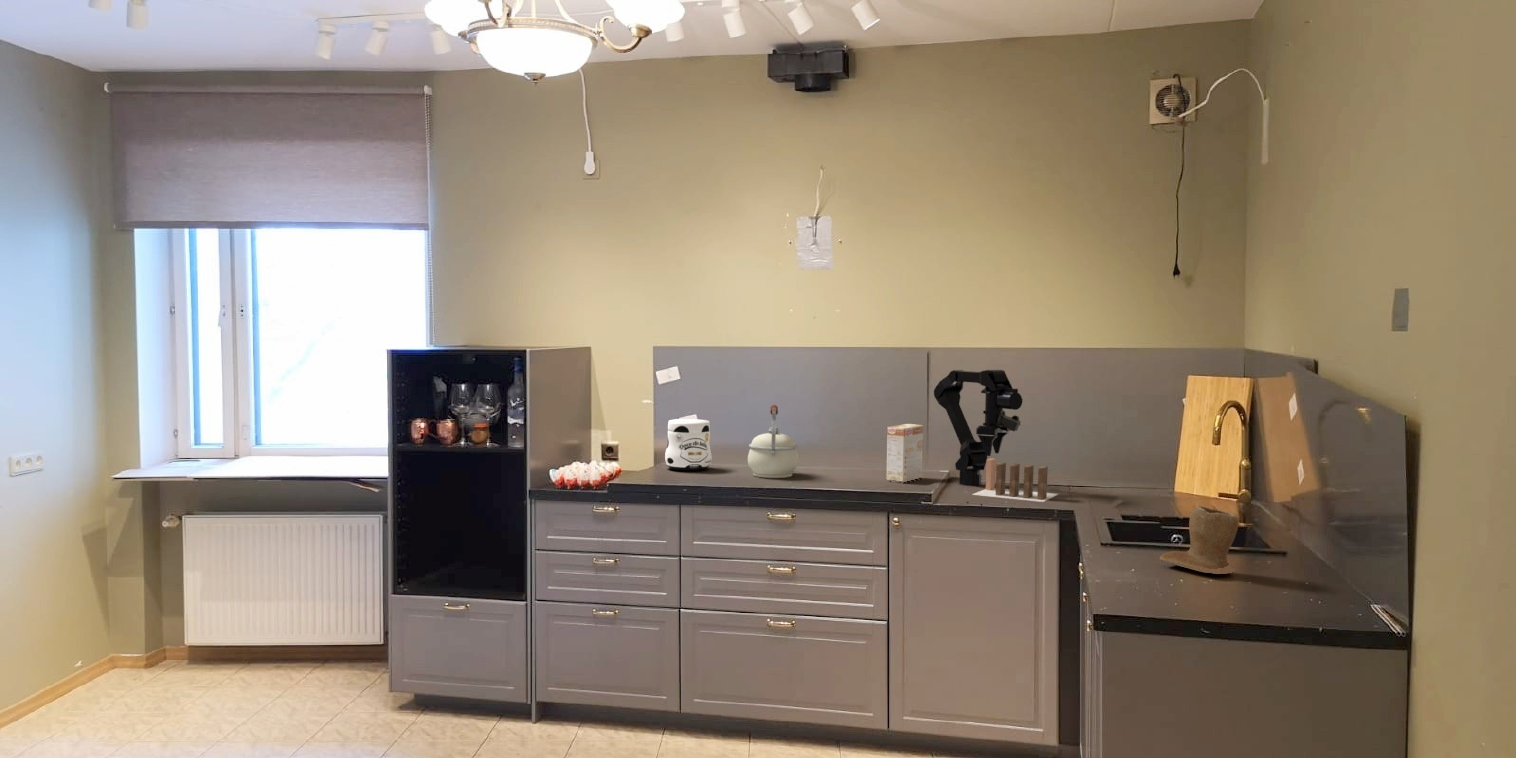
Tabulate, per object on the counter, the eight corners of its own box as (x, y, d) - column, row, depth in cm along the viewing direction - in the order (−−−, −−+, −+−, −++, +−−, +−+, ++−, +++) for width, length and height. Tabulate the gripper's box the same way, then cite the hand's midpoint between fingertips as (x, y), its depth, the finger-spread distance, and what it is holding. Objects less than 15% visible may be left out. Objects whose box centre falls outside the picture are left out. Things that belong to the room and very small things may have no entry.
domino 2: (995, 495, 343) (996, 464, 342) (1000, 493, 347) (1001, 462, 346) (1000, 495, 342) (1001, 464, 341) (1004, 493, 346) (1006, 462, 346)
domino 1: (985, 489, 353) (986, 459, 352) (990, 487, 357) (991, 458, 357) (990, 490, 352) (991, 460, 352) (994, 488, 357) (995, 458, 356)
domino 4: (1023, 497, 338) (1024, 466, 338) (1027, 495, 343) (1028, 464, 342) (1028, 498, 337) (1029, 467, 337) (1032, 496, 342) (1033, 465, 341)
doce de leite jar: (693, 474, 384) (693, 424, 383) (655, 469, 393) (655, 421, 392) (720, 468, 399) (721, 420, 398) (683, 464, 408) (684, 417, 407)
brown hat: (1248, 575, 244) (1251, 510, 243) (1214, 581, 238) (1217, 514, 237) (1191, 561, 257) (1193, 500, 256) (1158, 566, 251) (1160, 503, 250)
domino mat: (971, 498, 343) (971, 494, 343) (989, 490, 359) (989, 487, 359) (1043, 505, 332) (1043, 501, 332) (1057, 497, 347) (1058, 494, 347)
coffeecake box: (905, 476, 387) (906, 423, 386) (922, 479, 383) (924, 424, 382) (885, 481, 375) (886, 426, 374) (903, 483, 371) (904, 427, 370)
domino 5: (1037, 499, 336) (1038, 467, 335) (1041, 497, 340) (1042, 466, 340) (1042, 499, 335) (1043, 468, 335) (1046, 497, 340) (1047, 466, 339)
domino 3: (1009, 496, 340) (1010, 465, 340) (1013, 494, 345) (1014, 463, 344) (1014, 497, 340) (1015, 465, 339) (1018, 494, 344) (1019, 464, 343)
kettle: (798, 480, 374) (800, 409, 372) (746, 479, 374) (747, 408, 372) (797, 470, 399) (798, 403, 397) (748, 469, 399) (749, 402, 397)
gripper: (1010, 410, 341) (1009, 459, 342) (1025, 407, 357) (1024, 453, 358) (976, 408, 346) (975, 456, 347) (993, 405, 363) (992, 451, 363)
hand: (992, 454), depth 354 cm, fingers open, 9 cm apart
